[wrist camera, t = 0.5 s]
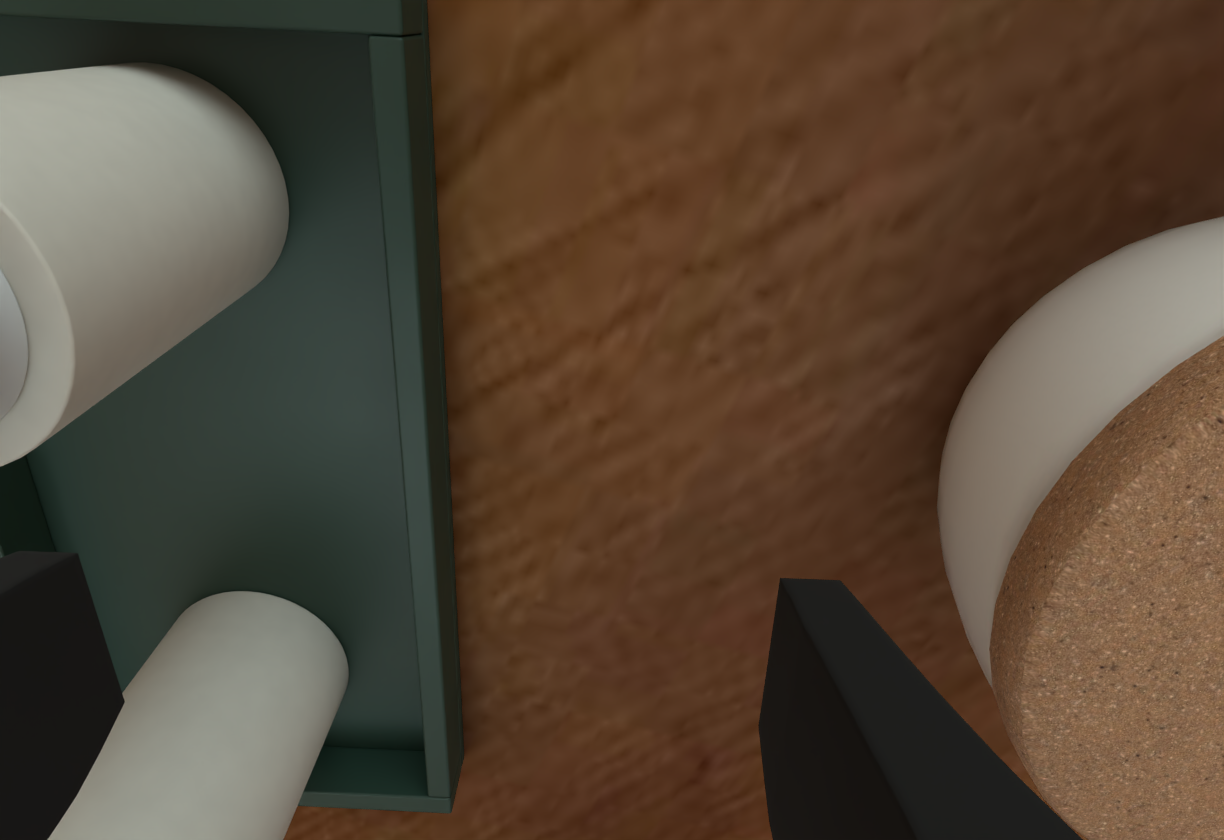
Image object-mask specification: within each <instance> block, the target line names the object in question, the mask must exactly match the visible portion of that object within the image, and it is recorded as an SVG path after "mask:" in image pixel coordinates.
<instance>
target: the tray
mask: <svg viewBox="0 0 1224 840" xmlns="http://www.w3.org/2000/svg"><path fill="white" fill-rule="evenodd" d="M139 62H146V63H154V64H162V65H166V66H170V67H174V68H177V69H180V70H183V71H185V72H188V73H190V74H193V75H195V76H197V77H199V78H201V79H203V80H205V81H207V82H208V83H210V84H212V85H213V86H215V87H216V88H218V89H219V90H221V91H222V92H224V93H225V94H226V95H228V96H229V97H230V98H231V99H232V100H233V101H234V102H236V103H237V104H238V105H239V106H240V107H241V108H242V109H243V110H244V111H245V112H246V113H247V114H248V115H249V116H250V118H251V119H252V120H253V121H254V122H255V124H256V125H257V126H258V128H259V129H260V130H261V132H262V133H263V134H264V136H265V137H266V139H267V141H268V143H269V144H270V146H271V148H272V149H273V151H274V153H275V156H276V158H277V160H278V162H279V165H280V167H281V170H282V173H283V177H284V180H285V184H286V189H287V194H288V203H289V222H288V231H287V236H286V240H285V244H284V246H283V249H282V252H281V254H280V256H279V258H278V260H277V262H276V264H275V265H274V267H273V268H272V269H271V271H270V272H269V273H268V275H267V276H266V277H265V278H264V279H263V280H262V281H261V282H260V283H259V284H257V285H256V286H255V287H254V288H252V289H251V290H250V291H248V292H247V293H246V294H244V295H243V296H242V297H240V298H239V299H237V300H236V301H235V302H233V303H232V304H231V305H229V306H228V307H227V308H225V309H224V310H223V311H221V312H220V313H218V314H217V315H216V316H214V317H213V318H212V319H210V320H209V321H208V322H206V323H205V324H204V325H202V326H201V327H199V328H198V329H197V330H195V331H194V332H193V333H191V334H190V335H189V336H187V337H186V338H185V339H183V340H182V341H180V342H179V343H178V344H176V345H175V346H174V347H172V348H171V349H170V350H168V351H167V352H166V353H164V354H163V355H161V356H160V357H159V358H157V359H156V360H155V361H153V362H152V363H151V364H149V365H148V366H147V367H145V368H144V369H142V370H141V371H140V372H138V373H137V374H136V375H134V376H133V377H132V378H130V379H129V380H128V381H126V382H125V383H123V384H122V385H121V386H119V387H118V388H117V389H115V390H114V391H113V392H111V393H110V394H109V395H107V396H106V397H104V398H103V399H102V400H100V401H99V402H98V403H96V404H95V405H94V406H92V407H91V408H90V409H88V410H87V411H85V412H84V413H83V414H81V415H80V416H79V417H77V418H76V419H75V420H73V421H72V422H71V423H69V424H68V425H66V426H65V427H64V428H62V429H61V430H60V431H58V432H57V433H56V434H54V435H53V436H52V437H50V438H49V439H47V440H46V441H45V442H43V443H42V444H41V445H39V446H38V447H37V448H35V449H34V450H32V451H31V452H29V453H27V454H26V455H24V456H23V457H21V458H20V459H17V460H15V461H13V462H10V463H8V464H6V465H4V466H0V558H2V557H5V556H7V555H10V554H12V553H15V552H17V551H38V552H66V553H78V555H79V558H80V562H81V565H82V568H83V571H84V574H85V577H86V581H87V584H88V587H89V590H90V593H91V596H92V599H93V603H94V606H95V609H96V612H97V615H98V618H99V622H100V625H101V628H102V631H103V634H104V637H105V641H106V644H107V647H108V650H109V653H110V656H111V660H112V663H113V666H114V669H115V672H116V675H117V678H118V682H119V685H120V688H121V691H122V693H123V692H124V690H125V689H126V687H127V686H128V685H129V683H130V682H131V681H132V679H133V678H134V677H135V675H136V674H137V673H138V671H139V670H140V669H141V667H142V666H143V665H144V663H145V662H146V661H147V659H148V658H149V657H150V655H151V654H152V653H153V651H154V650H155V649H156V647H157V646H158V645H159V643H160V642H161V640H162V639H163V638H164V636H165V635H166V634H167V632H168V631H169V630H170V628H171V627H172V626H173V624H174V623H175V622H176V620H177V619H178V618H179V616H180V615H181V614H182V613H183V612H184V611H185V610H186V609H187V608H189V607H190V606H191V605H193V604H194V603H196V602H198V601H200V600H202V599H204V598H207V597H209V596H212V595H215V594H220V593H224V592H232V591H251V592H260V593H265V594H270V595H274V596H277V597H280V598H283V599H286V600H288V601H291V602H293V603H295V604H297V605H299V606H301V607H303V608H305V609H306V610H308V611H309V612H311V613H312V614H314V615H315V616H316V617H318V618H319V619H320V620H321V621H322V622H324V623H325V624H326V625H327V626H328V627H329V628H330V630H331V631H332V632H333V633H334V635H335V636H336V637H337V639H338V640H339V642H340V644H341V645H342V647H343V649H344V652H345V655H346V658H347V662H348V668H349V678H348V685H347V688H346V691H345V694H344V696H343V698H342V701H341V703H340V705H339V708H338V710H337V713H336V715H335V717H334V720H333V722H332V725H331V727H330V729H329V732H328V734H327V736H326V739H325V741H324V744H323V746H322V748H321V751H320V753H319V756H318V758H317V760H316V763H315V765H314V767H313V770H312V772H311V775H310V777H309V779H308V782H307V784H306V786H305V789H304V791H303V794H302V796H301V798H300V801H299V803H298V806H313V807H332V808H352V809H372V810H392V811H412V812H432V813H451V811H452V808H453V803H454V799H455V794H456V790H457V786H458V781H459V777H460V772H461V766H462V764H463V759H464V742H463V722H462V701H461V681H460V661H459V641H458V620H457V600H456V580H455V560H454V539H453V519H452V499H451V479H450V459H449V438H448V418H447V398H446V378H445V357H444V337H443V317H442V297H441V276H440V256H439V236H438V216H437V195H436V175H435V155H434V135H433V114H432V94H431V74H430V54H429V34H428V13H427V0H0V76H9V75H18V74H28V73H37V72H46V71H56V70H65V69H74V68H84V67H93V66H102V65H112V64H121V63H139Z"/></svg>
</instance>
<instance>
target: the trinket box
mask: <svg viewBox="0 0 1224 840" xmlns="http://www.w3.org/2000/svg"><path fill="white" fill-rule="evenodd" d="M937 513H938V522H939V532H940V540H941V547H942V553H943V559H944V565H945V571H946V574H947V577H948V580H949V583H950V586H951V589H952V592H953V595H954V598H955V601H956V604H957V608H958V611H959V614H960V617H961V620H962V623H963V626H964V629H965V632H966V635H967V638H968V640H969V642H970V644H971V647H972V649H973V651H974V653H975V655H976V657H977V660H978V662H979V664H980V666H981V668H982V670H983V672H984V675H985V676H986V678H987V680H988V682H989V684H990V686H991V687H992V689H993V692H994V695H995V698H996V701H997V705H998V708H999V711H1000V714H1001V717H1002V720H1003V723H1004V726H1005V729H1006V731H1007V734H1008V736H1009V738H1010V740H1011V742H1012V744H1013V746H1014V748H1015V750H1016V752H1017V754H1018V756H1019V758H1020V760H1021V761H1022V763H1023V765H1024V767H1025V768H1026V770H1027V772H1028V773H1029V775H1030V777H1031V778H1032V780H1033V782H1034V783H1035V785H1036V787H1037V789H1038V790H1039V792H1040V794H1041V795H1042V797H1043V799H1044V800H1045V801H1046V802H1047V803H1048V804H1049V805H1050V806H1051V807H1052V808H1053V809H1054V810H1055V811H1056V812H1057V813H1058V814H1059V815H1060V816H1061V817H1062V818H1063V819H1064V821H1065V822H1066V823H1067V824H1068V825H1069V826H1070V827H1072V828H1073V829H1075V830H1076V831H1077V832H1079V833H1080V834H1082V835H1083V836H1085V837H1086V838H1087V839H1089V840H1224V216H1223V217H1219V218H1215V219H1210V220H1206V221H1202V222H1198V223H1193V224H1189V225H1185V226H1181V227H1177V228H1172V229H1168V230H1166V231H1163V232H1161V233H1158V234H1155V235H1153V236H1150V237H1147V238H1145V239H1142V240H1140V241H1137V242H1134V243H1132V244H1129V245H1126V246H1124V247H1122V248H1120V249H1118V250H1117V251H1115V252H1113V253H1111V254H1109V255H1107V256H1105V257H1103V258H1102V259H1100V260H1098V261H1096V262H1094V263H1092V264H1090V265H1088V266H1087V267H1085V268H1083V269H1082V270H1080V271H1079V272H1077V273H1076V274H1074V275H1073V276H1071V277H1070V278H1068V279H1067V280H1066V281H1064V282H1063V283H1061V284H1060V285H1059V286H1057V287H1056V288H1054V289H1053V290H1051V291H1050V292H1049V293H1047V294H1046V295H1044V296H1043V297H1042V298H1041V299H1039V300H1038V301H1037V302H1036V303H1035V304H1034V305H1033V306H1032V307H1031V308H1030V309H1028V310H1027V311H1026V312H1025V313H1024V314H1023V315H1022V316H1021V317H1020V318H1019V319H1017V320H1016V321H1015V322H1014V323H1013V324H1012V325H1011V327H1010V328H1009V329H1008V330H1007V331H1006V333H1005V334H1004V335H1003V336H1002V337H1001V338H1000V340H999V341H998V342H997V343H996V344H995V345H994V347H993V348H992V349H991V350H990V351H989V353H988V354H987V356H986V358H985V359H984V361H983V362H982V364H981V365H980V367H979V369H978V370H977V372H976V373H975V375H974V376H973V378H972V379H971V381H970V383H969V384H968V386H967V387H966V389H965V391H964V393H963V396H962V398H961V400H960V402H959V405H958V407H957V409H956V411H955V414H954V416H953V418H952V420H951V423H950V427H949V430H948V434H947V438H946V442H945V445H944V449H943V453H942V459H941V468H940V477H939V489H938V501H937Z"/></svg>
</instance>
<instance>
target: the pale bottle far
mask: <svg viewBox="0 0 1224 840" xmlns="http://www.w3.org/2000/svg"><path fill="white" fill-rule="evenodd" d="M348 678H349V668H348V662H347V658H346V655H345V652H344V649H343V647H342V645H341V644H340V642H339V640H338V639H337V637H336V636H335V635H334V633H333V632H332V631H331V630H330V628H329V627H328V626H327V625H326V624H325V623H324V622H322V621H321V620H320V619H319V618H318V617H316V616H315V615H314V614H312V613H311V612H309V611H308V610H306V609H305V608H303V607H301V606H299V605H297V604H295V603H293V602H291V601H288V600H286V599H283V598H280V597H277V596H274V595H270V594H265V593H260V592H251V591H232V592H224V593H220V594H215V595H212V596H209V597H207V598H204V599H202V600H200V601H198V602H196V603H194V604H193V605H191V606H190V607H189V608H187V609H186V610H185V611H184V612H183V613H182V614H181V615H180V616H179V618H178V619H177V620H176V622H175V623H174V624H173V626H172V627H171V628H170V630H169V631H168V632H167V634H166V635H165V636H164V638H163V639H162V640H161V642H160V643H159V645H158V646H157V647H156V649H155V650H154V651H153V653H152V654H151V655H150V657H149V658H148V659H147V661H146V662H145V663H144V665H143V666H142V667H141V669H140V670H139V671H138V673H137V674H136V675H135V677H134V678H133V679H132V681H131V682H130V683H129V685H128V686H127V687H126V689H125V690H124V692H123V693H122V694H123V697H124V701H125V703H124V705H123V707H122V709H121V711H120V713H119V715H118V717H117V719H116V721H115V723H114V725H113V727H112V729H111V731H110V733H109V735H108V738H107V740H106V742H105V744H104V746H103V748H102V750H101V752H100V754H99V756H98V757H97V759H96V761H95V763H94V765H93V767H92V768H91V770H90V772H89V774H88V776H87V778H86V780H85V781H84V783H83V785H82V787H81V789H80V791H79V792H78V794H77V796H76V798H75V799H74V801H73V802H72V804H71V805H70V807H69V808H68V810H67V811H66V813H65V814H64V816H63V817H62V819H61V821H60V822H59V824H58V825H57V826H56V828H55V829H54V831H53V832H52V834H51V835H50V837H49V838H48V840H283V839H284V837H285V834H286V832H287V829H288V827H289V825H290V822H291V820H292V817H293V815H294V813H295V810H296V808H297V806H298V803H299V801H300V798H301V796H302V794H303V791H304V789H305V786H306V784H307V782H308V779H309V777H310V775H311V772H312V770H313V767H314V765H315V763H316V760H317V758H318V756H319V753H320V751H321V748H322V746H323V744H324V741H325V739H326V736H327V734H328V732H329V729H330V727H331V725H332V722H333V720H334V717H335V715H336V713H337V710H338V708H339V705H340V703H341V701H342V698H343V696H344V694H345V691H346V688H347V685H348Z"/></svg>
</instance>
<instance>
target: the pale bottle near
mask: <svg viewBox="0 0 1224 840" xmlns="http://www.w3.org/2000/svg"><path fill="white" fill-rule="evenodd" d="M288 222H289V203H288V194H287V189H286V184H285V180H284V177H283V173H282V170H281V167H280V165H279V162H278V160H277V158H276V156H275V153H274V151H273V149H272V148H271V146H270V144H269V143H268V141H267V139H266V137H265V136H264V134H263V133H262V132H261V130H260V129H259V128H258V126H257V125H256V124H255V122H254V121H253V120H252V119H251V118H250V116H249V115H248V114H247V113H246V112H245V111H244V110H243V109H242V108H241V107H240V106H239V105H238V104H237V103H236V102H234V101H233V100H232V99H231V98H230V97H229V96H228V95H226V94H225V93H224V92H222V91H221V90H219V89H218V88H216V87H215V86H213V85H212V84H210V83H208V82H207V81H205V80H203V79H201V78H199V77H197V76H195V75H193V74H190V73H188V72H185V71H183V70H180V69H177V68H174V67H170V66H166V65H162V64H154V63H146V62H139V63H121V64H112V65H102V66H93V67H84V68H74V69H65V70H56V71H46V72H37V73H28V74H18V75H9V76H0V466H4V465H6V464H8V463H10V462H13V461H15V460H17V459H20V458H21V457H23V456H24V455H26V454H27V453H29V452H31V451H32V450H34V449H35V448H37V447H38V446H39V445H41V444H42V443H43V442H45V441H46V440H47V439H49V438H50V437H52V436H53V435H54V434H56V433H57V432H58V431H60V430H61V429H62V428H64V427H65V426H66V425H68V424H69V423H71V422H72V421H73V420H75V419H76V418H77V417H79V416H80V415H81V414H83V413H84V412H85V411H87V410H88V409H90V408H91V407H92V406H94V405H95V404H96V403H98V402H99V401H100V400H102V399H103V398H104V397H106V396H107V395H109V394H110V393H111V392H113V391H114V390H115V389H117V388H118V387H119V386H121V385H122V384H123V383H125V382H126V381H128V380H129V379H130V378H132V377H133V376H134V375H136V374H137V373H138V372H140V371H141V370H142V369H144V368H145V367H147V366H148V365H149V364H151V363H152V362H153V361H155V360H156V359H157V358H159V357H160V356H161V355H163V354H164V353H166V352H167V351H168V350H170V349H171V348H172V347H174V346H175V345H176V344H178V343H179V342H180V341H182V340H183V339H185V338H186V337H187V336H189V335H190V334H191V333H193V332H194V331H195V330H197V329H198V328H199V327H201V326H202V325H204V324H205V323H206V322H208V321H209V320H210V319H212V318H213V317H214V316H216V315H217V314H218V313H220V312H221V311H223V310H224V309H225V308H227V307H228V306H229V305H231V304H232V303H233V302H235V301H236V300H237V299H239V298H240V297H242V296H243V295H244V294H246V293H247V292H248V291H250V290H251V289H252V288H254V287H255V286H256V285H257V284H259V283H260V282H261V281H262V280H263V279H264V278H265V277H266V276H267V275H268V273H269V272H270V271H271V269H272V268H273V267H274V265H275V264H276V262H277V260H278V258H279V256H280V254H281V252H282V249H283V246H284V244H285V240H286V236H287V231H288Z"/></svg>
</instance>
